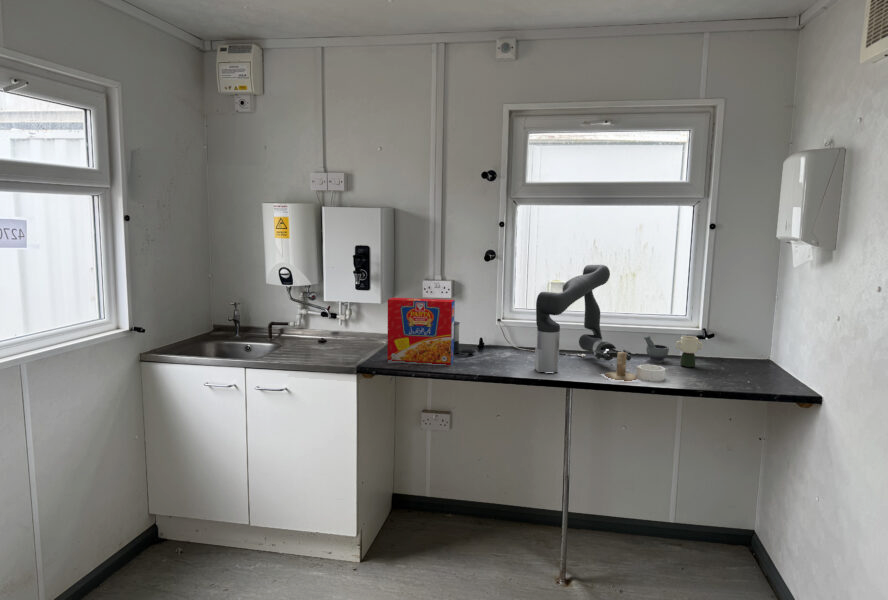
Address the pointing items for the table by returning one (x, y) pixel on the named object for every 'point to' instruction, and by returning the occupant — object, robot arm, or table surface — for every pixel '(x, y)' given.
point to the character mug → (688, 350)
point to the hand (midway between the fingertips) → (619, 358)
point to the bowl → (651, 372)
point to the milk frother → (456, 340)
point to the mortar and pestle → (656, 351)
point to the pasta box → (421, 330)
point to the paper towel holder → (621, 369)
